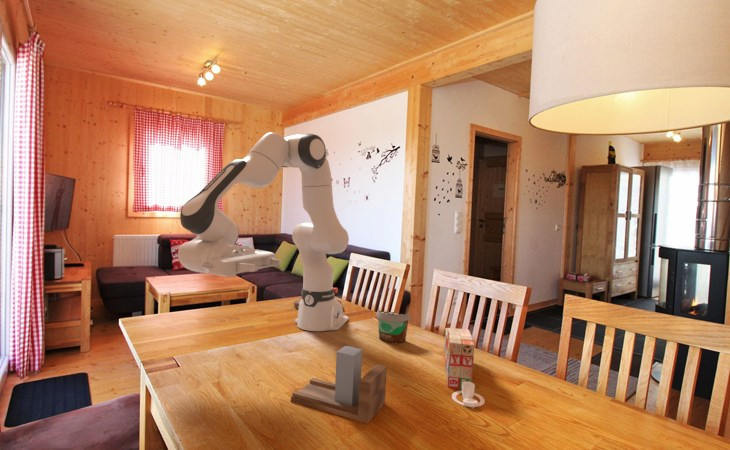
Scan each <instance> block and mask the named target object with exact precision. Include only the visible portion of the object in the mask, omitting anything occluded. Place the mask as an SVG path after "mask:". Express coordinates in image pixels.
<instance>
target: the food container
mask: <svg viewBox="0 0 730 450" xmlns="http://www.w3.org/2000/svg"><path fill="white" fill-rule="evenodd" d="M375 315H376V316H375V317H377V320H378V321H377V324H378V325H377V326H378V339H379V341H382V342H383V343H387V344H392V343H393V344H395V343H397V344H402V343H405V342H406V339H407V331H408V326H409V321H410V320H411V319H412V318H411V315H410V312H408V313H405V314H402V313H398V312H395V311H381V310H380V308H377V311H376V314H375ZM393 344H392V345H393Z"/></svg>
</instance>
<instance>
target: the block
mask: <svg viewBox="0 0 730 450" xmlns="http://www.w3.org/2000/svg"><path fill="white" fill-rule="evenodd" d="M335 353H336V355H335V356H336V358H335V380H334V384H335V402H338V403H341V404H345V405H348V406H352V407H353V406H354V405H355V404H356V402H357V401H358V398H359V381H360V380H361V379H362V371H363V370H362V369H363V368H362V366H363V349H362V348H358V347H353V346H349V345H344V346H343V347H342V348H340V349H339V350H337V351H336V352H335Z"/></svg>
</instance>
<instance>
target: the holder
mask: <svg viewBox="0 0 730 450" xmlns="http://www.w3.org/2000/svg"><path fill="white" fill-rule="evenodd" d="M387 368H388V366H387V365H382V364H378V363H377V364H375V365H374V367H373V368H371V369H370V370H369V371H368V372H367V373H366V374H365V375H364V376H362V377H361V380H360V381H359V398H358V401H357V402H356V404H355V405H354V406H353V407H352V406H348V405H345V404H341V403H338V402H335V383H333V382H329V381H325V380H321V379H317V378H313V377H312V378H311V379H309V383H308V384H306V385H305V386H304V387H302V388H301V389H300V390H294V391H293V392H292V393H291V394H292V396H290V402H293V403H295V404H298V405H299V404H300V405H302V406H306V407H308V408H309V407H310V408H313V409H316V410H321V411H324V412H327V413H331V414H332V415H337V416H340V417H342V418H343V417H344V418H346V419H350V420H354V421H356V422H360V423H364V424H367V425H368V424H369V423H370V422H371V420H372V419H374V417H375V416H376V415H377V414H378V413H379V412H380V410H381V408H382V407H383V406H384V405H385V403H386V390H387V388H386V386H387V370H388V369H387Z"/></svg>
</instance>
